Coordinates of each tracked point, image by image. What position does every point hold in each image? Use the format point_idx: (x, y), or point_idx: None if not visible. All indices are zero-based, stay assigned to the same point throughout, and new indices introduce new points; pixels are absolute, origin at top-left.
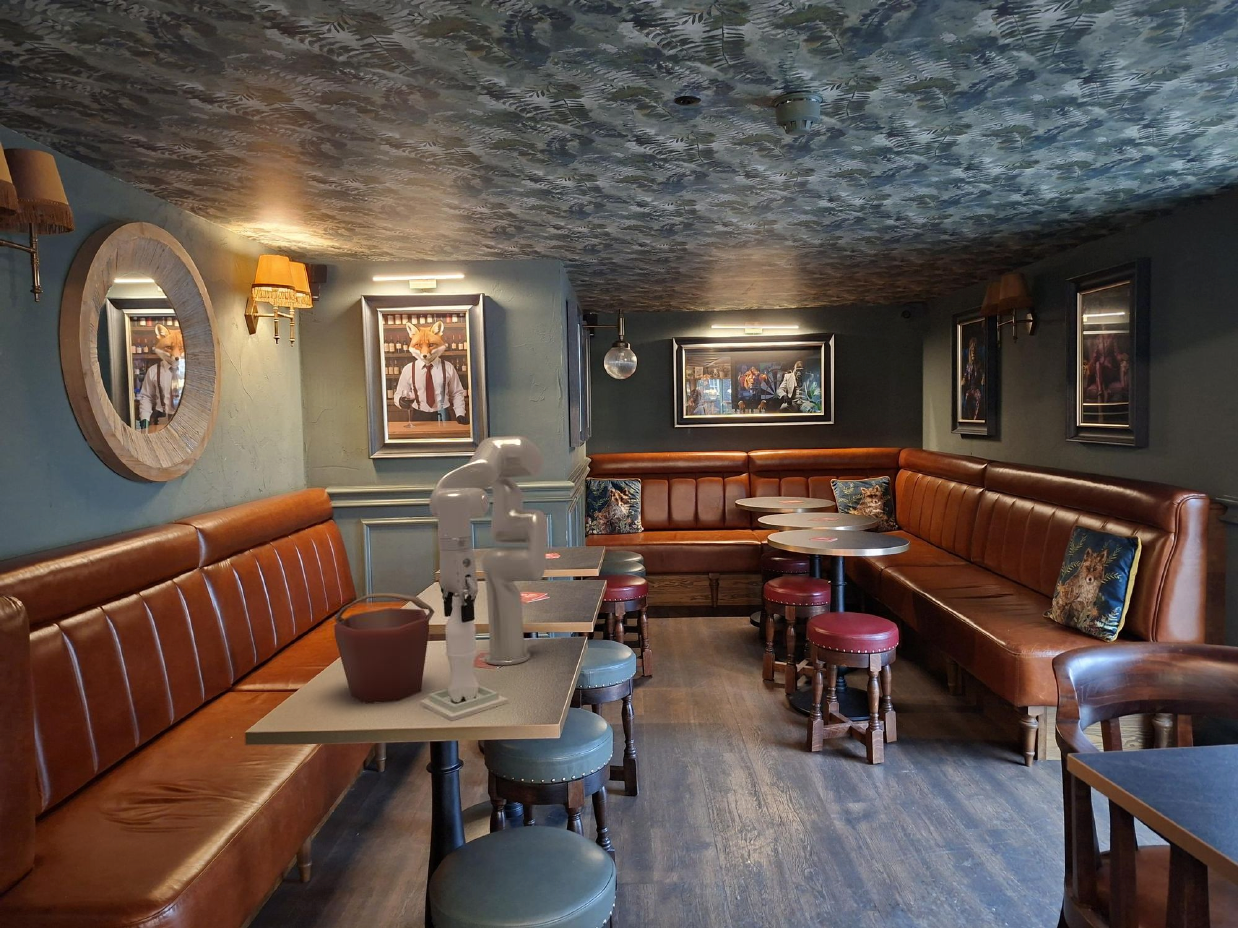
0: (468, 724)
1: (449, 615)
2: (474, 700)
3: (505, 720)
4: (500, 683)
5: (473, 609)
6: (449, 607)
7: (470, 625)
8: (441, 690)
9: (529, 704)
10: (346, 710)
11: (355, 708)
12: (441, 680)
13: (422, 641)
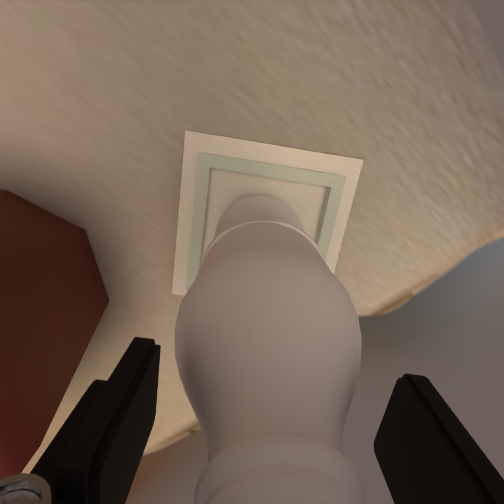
0: (368, 303)
1: (154, 400)
2: (327, 252)
3: (431, 244)
4: (216, 45)
5: (474, 451)
6: (133, 459)
7: (360, 347)
8: (189, 252)
9: (421, 131)
10: (78, 387)
11: (80, 373)
12: (44, 139)
13: (7, 298)
